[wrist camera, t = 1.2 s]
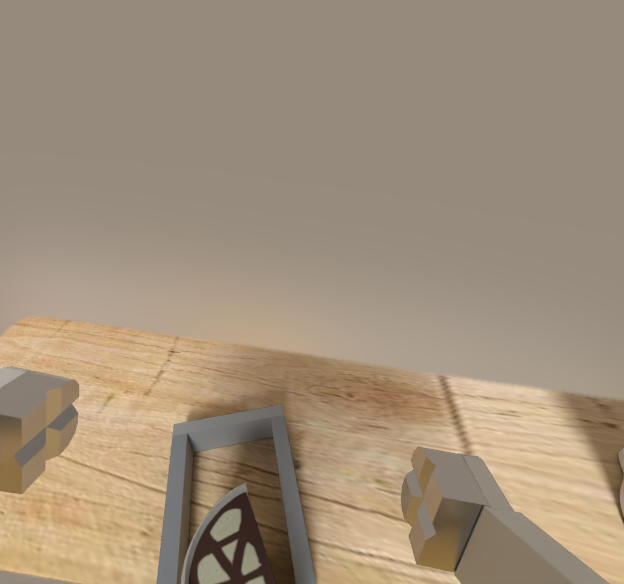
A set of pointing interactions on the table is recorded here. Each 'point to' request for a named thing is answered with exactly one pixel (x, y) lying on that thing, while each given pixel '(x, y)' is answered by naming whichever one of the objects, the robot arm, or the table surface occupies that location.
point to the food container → (228, 545)
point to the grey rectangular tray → (180, 482)
